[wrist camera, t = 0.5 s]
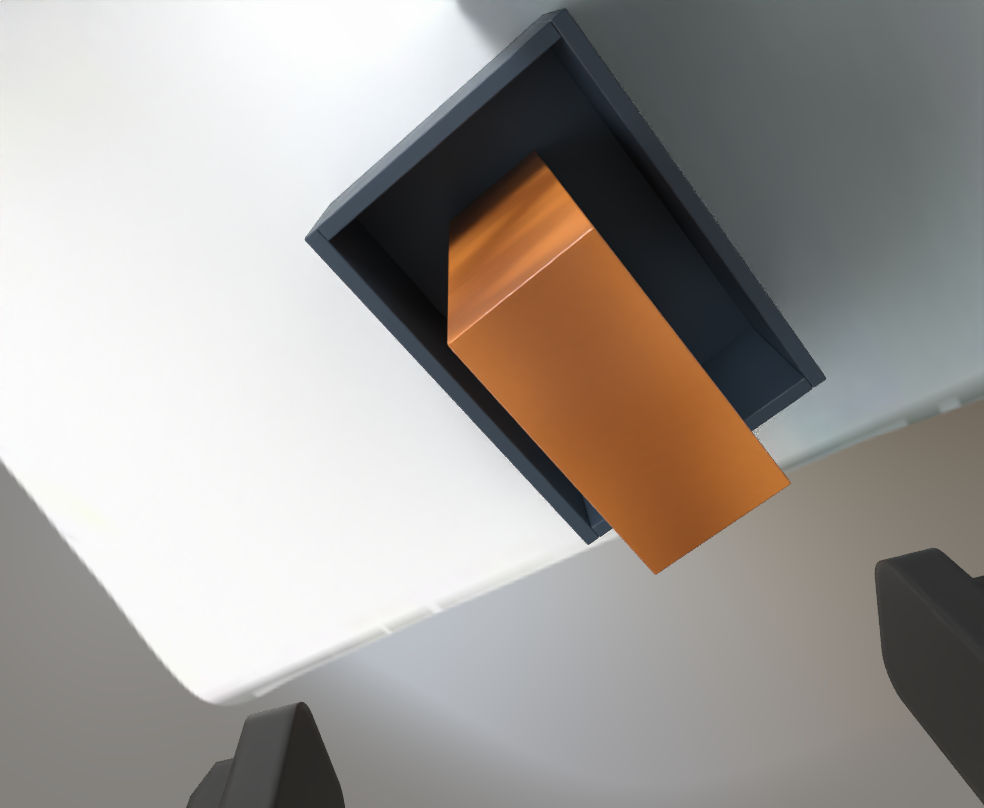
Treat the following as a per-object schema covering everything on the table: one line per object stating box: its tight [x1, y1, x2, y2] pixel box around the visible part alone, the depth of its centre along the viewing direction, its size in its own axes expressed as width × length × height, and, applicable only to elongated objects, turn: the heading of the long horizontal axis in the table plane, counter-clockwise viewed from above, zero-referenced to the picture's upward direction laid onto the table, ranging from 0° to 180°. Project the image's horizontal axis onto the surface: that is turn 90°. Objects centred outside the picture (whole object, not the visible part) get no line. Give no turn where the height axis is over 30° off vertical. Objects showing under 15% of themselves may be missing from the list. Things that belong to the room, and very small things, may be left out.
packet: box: [447, 150, 791, 574], centre depth 28 cm, size 4×9×15 cm, turn 39°
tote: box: [305, 9, 826, 545], centre depth 33 cm, size 11×16×6 cm
